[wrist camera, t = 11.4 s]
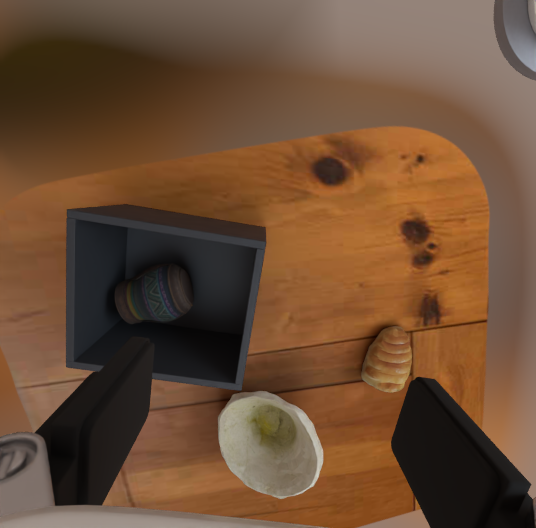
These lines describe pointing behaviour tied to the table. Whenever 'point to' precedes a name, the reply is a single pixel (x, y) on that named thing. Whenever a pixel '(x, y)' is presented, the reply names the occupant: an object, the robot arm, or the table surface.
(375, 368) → the pastry
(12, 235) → the table surface
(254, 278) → the trash bin
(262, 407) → the bowl
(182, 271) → the mate gourd
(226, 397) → the table surface
